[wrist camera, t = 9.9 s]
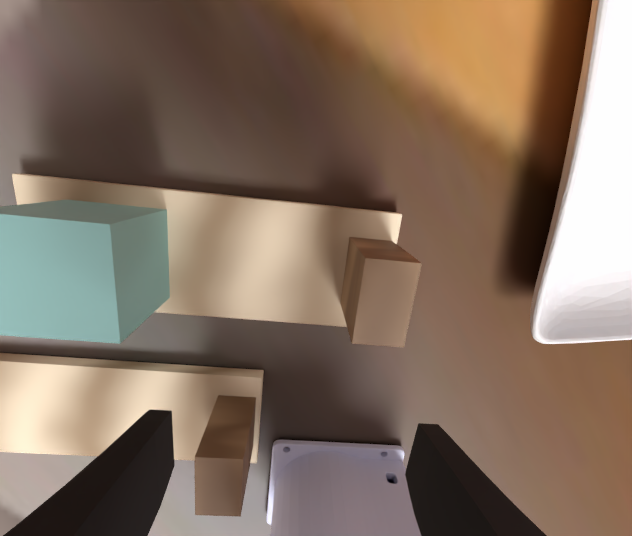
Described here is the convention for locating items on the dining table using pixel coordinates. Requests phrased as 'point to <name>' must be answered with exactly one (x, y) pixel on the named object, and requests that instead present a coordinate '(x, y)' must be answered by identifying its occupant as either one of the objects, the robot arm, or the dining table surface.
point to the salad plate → (593, 198)
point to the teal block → (81, 269)
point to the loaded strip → (268, 257)
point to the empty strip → (137, 414)
